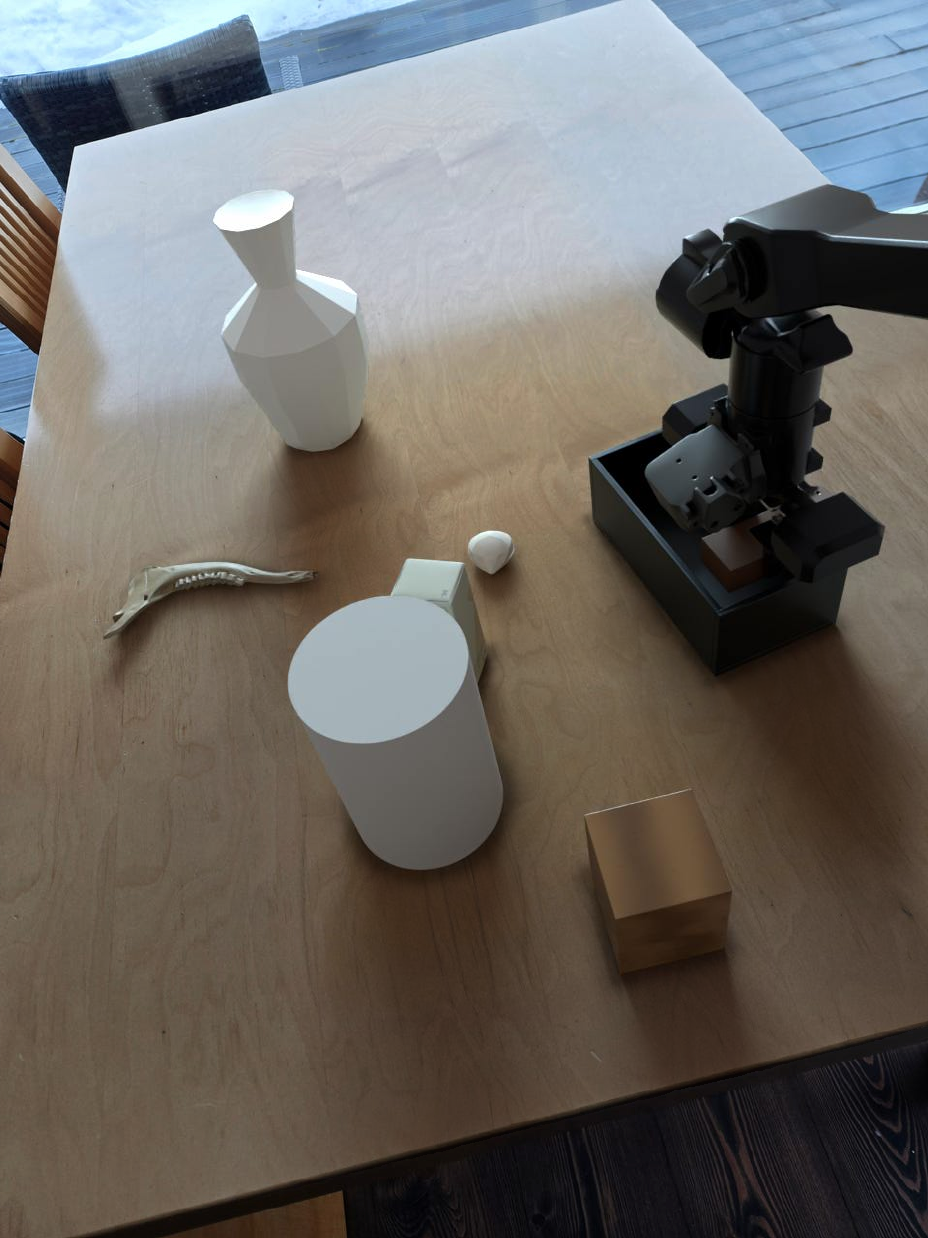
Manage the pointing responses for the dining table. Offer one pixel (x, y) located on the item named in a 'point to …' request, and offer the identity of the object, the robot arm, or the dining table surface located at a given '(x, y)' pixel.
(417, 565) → the box
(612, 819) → the stand
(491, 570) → the white seashell
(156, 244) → the dining table surface
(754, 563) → the brown block
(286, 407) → the vase
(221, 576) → the jawbone
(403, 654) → the white solid cylinder
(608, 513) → the trash bin
